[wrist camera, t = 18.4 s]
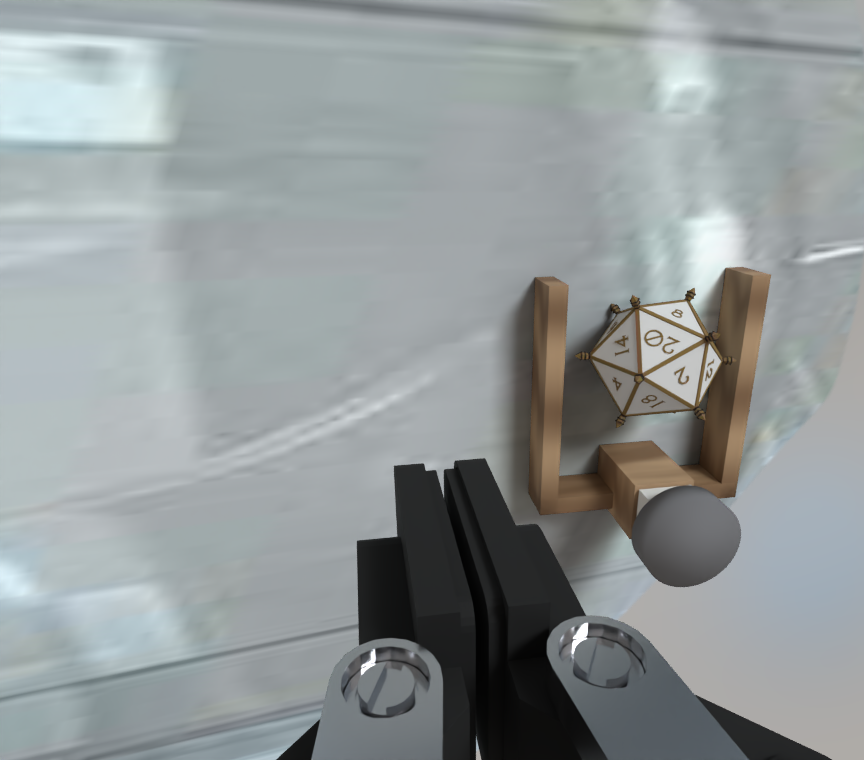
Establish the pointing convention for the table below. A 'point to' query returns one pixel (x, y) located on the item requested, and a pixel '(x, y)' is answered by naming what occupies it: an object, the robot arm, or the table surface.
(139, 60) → the table surface
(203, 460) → the table surface
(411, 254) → the table surface
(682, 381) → the game die
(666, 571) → the wheel
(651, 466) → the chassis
